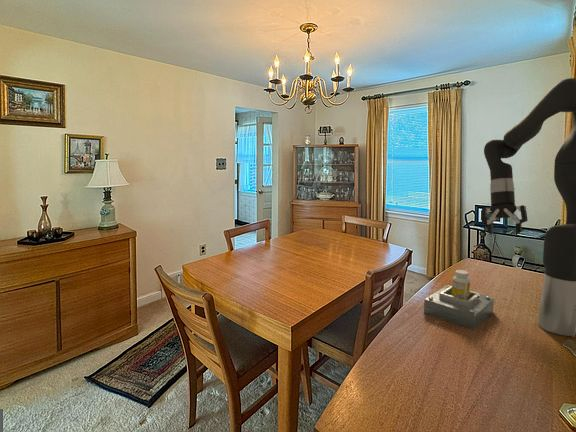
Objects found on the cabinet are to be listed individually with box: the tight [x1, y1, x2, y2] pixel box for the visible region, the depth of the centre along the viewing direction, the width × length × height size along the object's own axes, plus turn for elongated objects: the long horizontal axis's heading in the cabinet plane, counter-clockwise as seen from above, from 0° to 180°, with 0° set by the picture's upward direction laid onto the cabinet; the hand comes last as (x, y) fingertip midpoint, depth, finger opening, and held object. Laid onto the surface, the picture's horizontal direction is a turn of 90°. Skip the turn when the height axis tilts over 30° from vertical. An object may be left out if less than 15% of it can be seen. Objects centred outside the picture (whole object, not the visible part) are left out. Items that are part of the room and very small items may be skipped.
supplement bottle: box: [451, 269, 471, 300], centre depth 109 cm, size 5×5×10 cm
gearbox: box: [423, 284, 495, 331], centre depth 110 cm, size 16×18×7 cm
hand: (504, 234), depth 119 cm, fingers open, 8 cm apart
